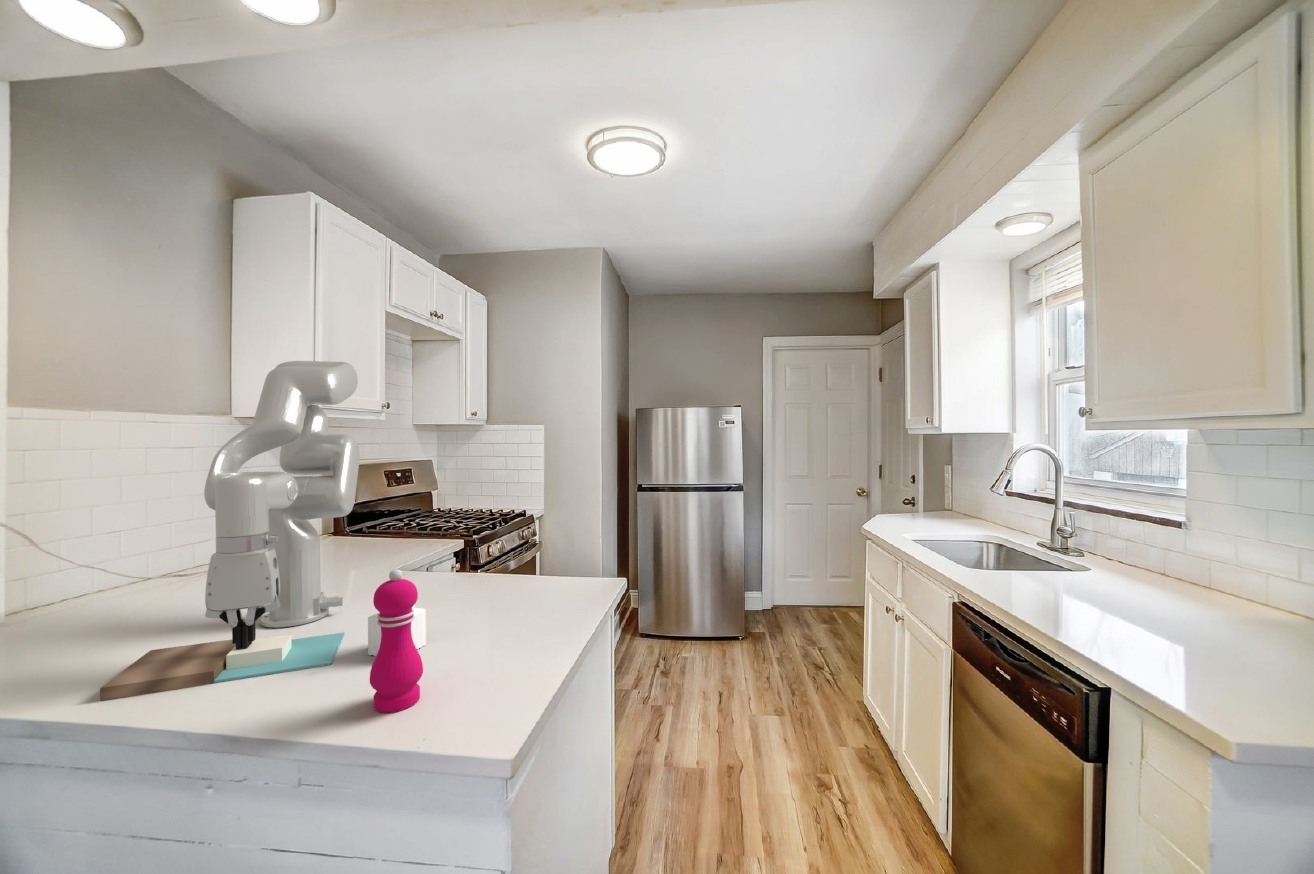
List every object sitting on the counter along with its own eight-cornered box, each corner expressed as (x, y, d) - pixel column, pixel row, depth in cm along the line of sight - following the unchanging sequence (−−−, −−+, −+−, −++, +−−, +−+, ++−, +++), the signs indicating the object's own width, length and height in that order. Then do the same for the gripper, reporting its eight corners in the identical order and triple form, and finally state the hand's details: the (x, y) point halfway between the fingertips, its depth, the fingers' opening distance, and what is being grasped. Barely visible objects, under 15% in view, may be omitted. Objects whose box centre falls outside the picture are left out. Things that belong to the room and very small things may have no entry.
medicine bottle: (427, 645, 101) (426, 583, 101) (397, 660, 95) (396, 593, 95) (398, 641, 104) (397, 580, 104) (367, 655, 97) (366, 590, 97)
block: (291, 647, 100) (291, 634, 100) (282, 661, 94) (282, 647, 94) (239, 654, 97) (239, 641, 97) (226, 669, 91) (226, 655, 91)
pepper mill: (382, 692, 83) (381, 564, 83) (430, 689, 83) (428, 562, 83) (360, 716, 75) (359, 576, 75) (413, 713, 76) (411, 574, 76)
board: (245, 647, 101) (245, 637, 101) (214, 682, 87) (214, 670, 87) (150, 661, 96) (150, 650, 96) (100, 700, 81) (100, 687, 81)
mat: (344, 634, 108) (344, 632, 108) (331, 664, 93) (331, 662, 93) (242, 648, 101) (242, 646, 101) (210, 683, 86) (210, 681, 86)
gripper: (297, 537, 101) (298, 632, 101) (199, 544, 95) (200, 645, 95) (287, 544, 94) (288, 646, 94) (180, 552, 88) (182, 661, 88)
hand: (244, 646), depth 95 cm, fingers closed
